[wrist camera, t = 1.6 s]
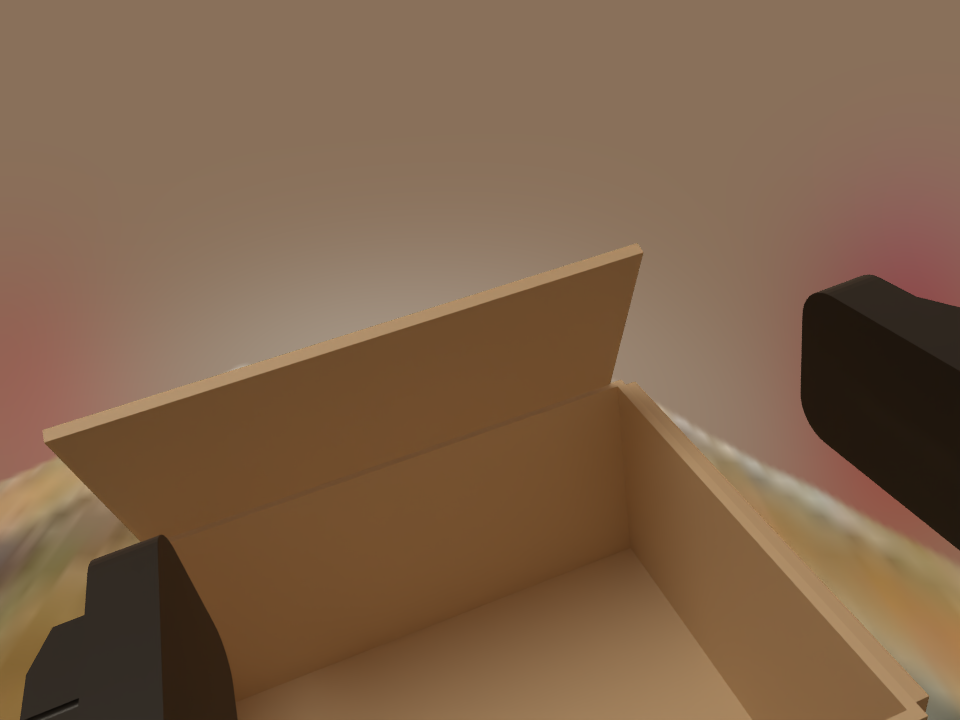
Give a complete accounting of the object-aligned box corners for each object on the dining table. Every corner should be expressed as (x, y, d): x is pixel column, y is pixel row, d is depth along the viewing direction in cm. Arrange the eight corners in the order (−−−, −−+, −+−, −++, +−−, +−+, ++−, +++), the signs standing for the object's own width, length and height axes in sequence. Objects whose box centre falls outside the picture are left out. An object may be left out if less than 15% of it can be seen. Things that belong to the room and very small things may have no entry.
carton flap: (44, 442, 28) (42, 427, 29) (144, 546, 37) (142, 533, 37) (643, 252, 33) (636, 241, 33) (610, 384, 41) (604, 374, 41)
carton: (253, 1243, 27) (101, 1128, 20) (209, 714, 44) (117, 554, 37) (904, 906, 32) (954, 723, 25) (641, 544, 48) (630, 376, 42)
